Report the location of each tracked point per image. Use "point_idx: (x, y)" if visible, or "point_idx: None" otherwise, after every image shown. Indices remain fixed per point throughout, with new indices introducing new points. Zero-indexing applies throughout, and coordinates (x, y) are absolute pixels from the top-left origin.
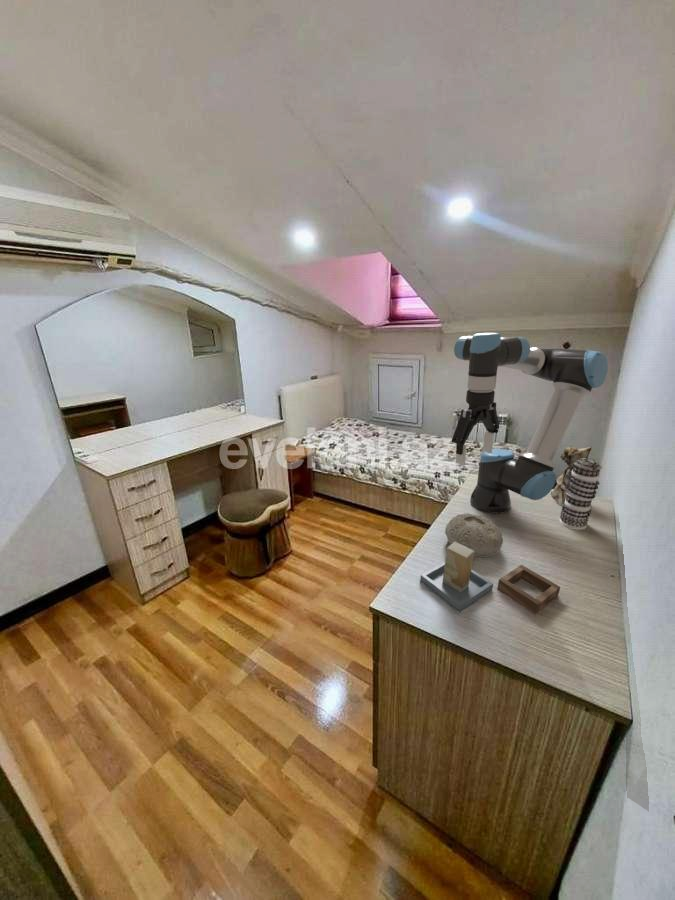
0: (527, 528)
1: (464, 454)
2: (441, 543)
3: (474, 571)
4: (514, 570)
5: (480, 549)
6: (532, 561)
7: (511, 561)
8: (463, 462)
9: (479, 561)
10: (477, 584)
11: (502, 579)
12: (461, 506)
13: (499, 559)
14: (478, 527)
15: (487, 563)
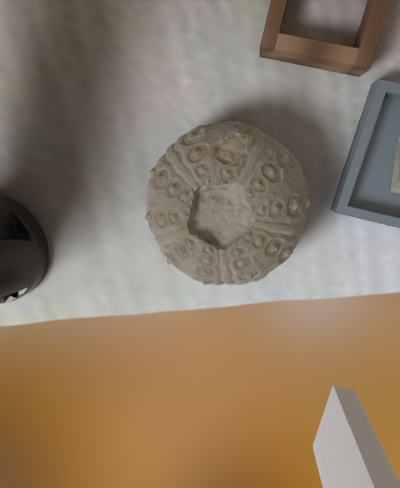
0: (41, 119)
1: (390, 475)
2: None
3: (361, 140)
4: (299, 50)
5: (293, 156)
6: (181, 51)
7: (219, 94)
8: (361, 408)
9: None
10: (380, 120)
11: (362, 60)
12: (66, 301)
13: None
14: (221, 197)
15: None
